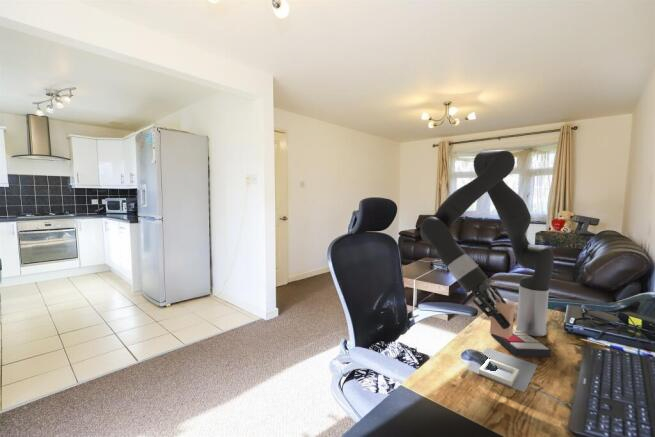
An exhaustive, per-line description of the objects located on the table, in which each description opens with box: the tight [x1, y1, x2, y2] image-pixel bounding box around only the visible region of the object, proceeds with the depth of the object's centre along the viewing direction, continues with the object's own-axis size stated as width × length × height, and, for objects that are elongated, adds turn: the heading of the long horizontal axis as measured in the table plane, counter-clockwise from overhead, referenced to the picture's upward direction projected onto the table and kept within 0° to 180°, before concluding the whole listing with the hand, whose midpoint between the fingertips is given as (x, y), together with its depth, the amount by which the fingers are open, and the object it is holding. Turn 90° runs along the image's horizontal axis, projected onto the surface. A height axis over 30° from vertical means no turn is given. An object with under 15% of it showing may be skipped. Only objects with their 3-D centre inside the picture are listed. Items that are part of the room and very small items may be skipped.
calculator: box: [490, 329, 552, 358], centre depth 102 cm, size 11×4×15 cm
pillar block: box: [489, 302, 516, 339], centre depth 83 cm, size 4×4×8 cm
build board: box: [467, 347, 539, 393], centre depth 88 cm, size 18×14×2 cm
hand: (509, 324), depth 82 cm, fingers closed on pillar block, 4 cm apart
